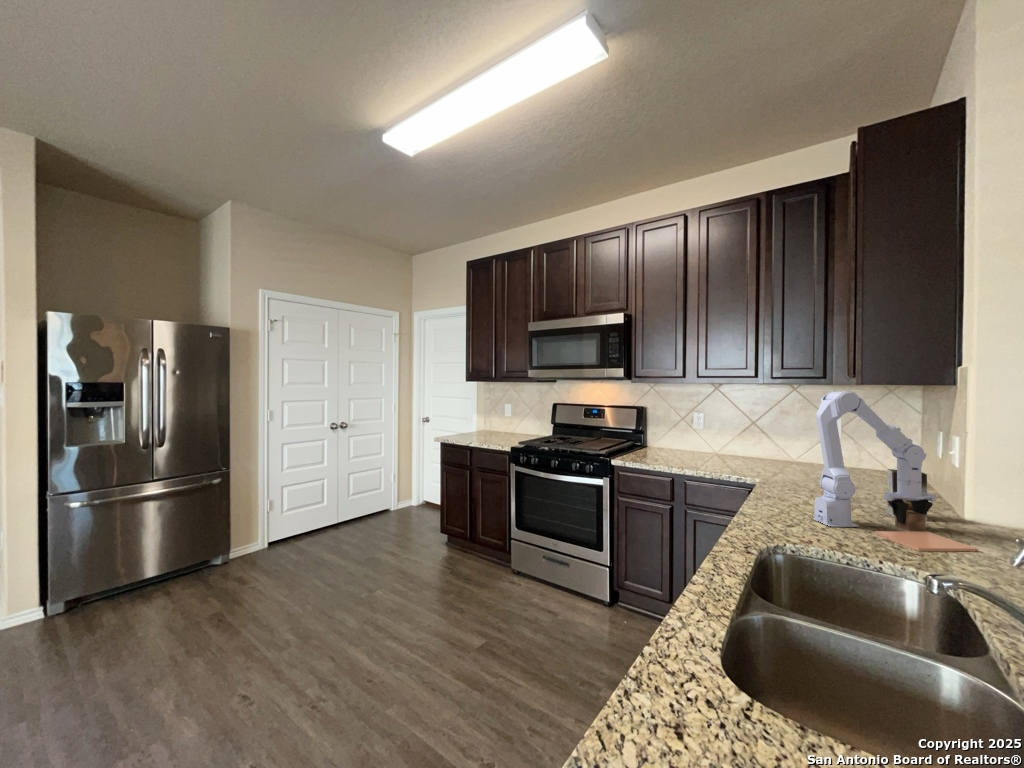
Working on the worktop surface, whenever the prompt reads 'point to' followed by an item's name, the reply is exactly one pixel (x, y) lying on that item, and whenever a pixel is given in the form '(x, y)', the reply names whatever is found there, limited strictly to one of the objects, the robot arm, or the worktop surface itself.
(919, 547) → the terracotta tile
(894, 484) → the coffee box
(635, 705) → the worktop surface
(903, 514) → the robot arm
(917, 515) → the walnut cube
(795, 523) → the worktop surface
